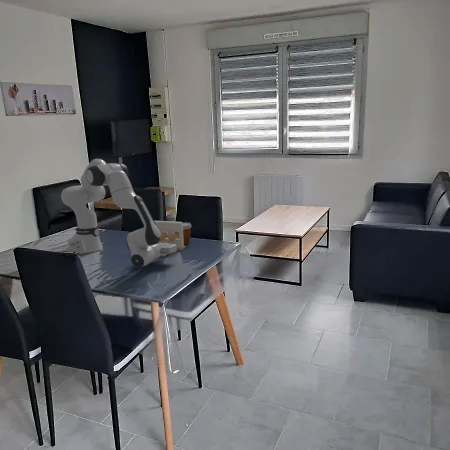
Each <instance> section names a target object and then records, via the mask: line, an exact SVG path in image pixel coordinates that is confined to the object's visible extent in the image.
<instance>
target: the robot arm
mask: <svg viewBox="0 0 450 450" xmlns="http://www.w3.org/2000/svg"><path fill="white" fill-rule="evenodd" d="M104 186H108V188H109V191H110V195H111V199H112V201H113V203H114V204H115V205H116V206H117V207H118V208H120V209H129V210H130V209H132V210H135V212H137V214H138V216H139V217H140V220H141V222H142V224H143V227H142V228H139V229H136V230H134V231H132V232H129V233H128V234H127V235H126V239H125V244H126V248H127V250H128V251H129V252H130V261H131V263H132V265H134V266H135V267H137V268H143V267H145V266H148V265H149V264H151V263H152V262H154V261H155V260H157V259H158V258H160V257H161V256H160V255H161V254H167V255H171V254H173V253H176V252H177V251H178V250H177V245H176V244H167V242H161V243H159V241H160V239H161V231H160V229H159V228H158V226H157V225H156V224H155V222H154V221H155V220H154V219H153V216H152V215H151V212H150V210H149V209H148V206H147V204H146V203H145V201H144V199H143V198H142V197H141V196H140V195H137V194H136V193H135V191H134V189H133V186H132V183H131V181H130V179H129V169H128V166H127V165H125V164H124V163H121V162H114V163H113V162H112V163H111V162H110V163H106V161H105V160H103V159H101V158H94V159H92V160H91V161H90V162H89V163H88V164H87V166H86V167H85V169H84V170H83V173H82V175H81V177H80V184H79V185H73V186H69V187H66V188H64V189H63V190H62V191H61V194H60V197H61V200H62V202H63V204H64V205H65V206H67V207H69V208H70V209H71V210H72V211H73V212H74V215H75V218H76V224H77V227H76V228H75V229H74V230H73V231H76V232H75V234H74V235H73V236H72V237H70V238H69V239H68V242H67V247H65V248H64V252H67V253H72V252H75V253H74V254H77V253H79V255H84V254H89V253H95V252H100V251H101V250H103V245H102V242H101V239H100V229H99V225H98V219H97V213H96V212H95V211H94V210H92V209H90V208H87V204H90V203H91V204H92V203H96V202H99V201H102V200H103V199H104V198H105V197H106V189H105V187H104Z"/></svg>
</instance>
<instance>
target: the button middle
mask: <svg viewBox="0 0 450 450" xmlns="http://www.w3.org/2000/svg"><path fill="white" fill-rule="evenodd" d="M165 238H168V232H163V233H162V234H161V239H160V241H162V240H164V239H165Z"/></svg>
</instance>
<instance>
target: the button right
mask: <svg viewBox="0 0 450 450" xmlns="http://www.w3.org/2000/svg"><path fill="white" fill-rule="evenodd" d="M173 233H174V234H172V235H170V236H169V237H167V238H168V240H169V241H170V242H173V241H174V240H176V239H179V238H178V237H179V235H178V233H177V232H173Z"/></svg>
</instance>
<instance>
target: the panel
mask: <svg viewBox="0 0 450 450" xmlns="http://www.w3.org/2000/svg"><path fill="white" fill-rule="evenodd" d="M154 222H155V224H156V225H157V226H158V228H159V229H160V231H161V234H162V233H163V232H166V233H167V234H168V237H169V236H170V235H172V234H174V233H177V232H179V238H177V239H176V240H174V241H173V242H170V241H169V240H168V237H167V238H165V239H164V240H162V241H159V243H161V242H167V244H176V245H177V251H178V252H179V251H181V252H182V251H183V250H184V249H185V248H187V247H186V245H184V240H183V224H182V223H183V222H182V221H170V220H169V221H167V220H165V221H164V220H154Z"/></svg>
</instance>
